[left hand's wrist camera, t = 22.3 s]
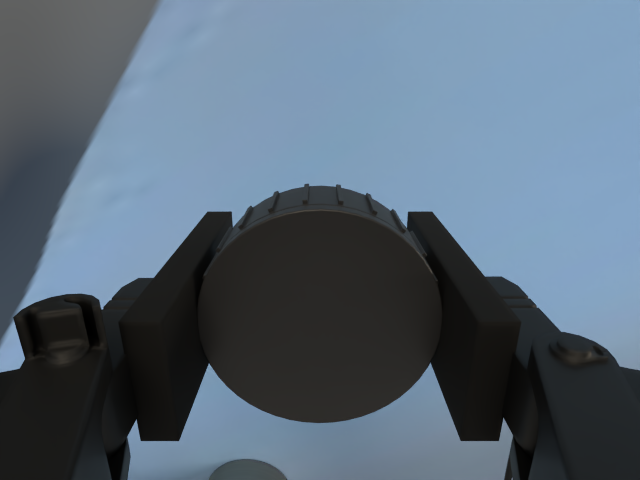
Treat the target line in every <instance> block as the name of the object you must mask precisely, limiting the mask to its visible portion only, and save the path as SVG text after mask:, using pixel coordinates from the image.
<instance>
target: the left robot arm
mask: <svg viewBox="0 0 640 480" xmlns="http://www.w3.org/2000/svg"><path fill="white" fill-rule="evenodd" d="M230 226H231V227H232V228H233V225H232V212H207V213H206V214H205V216H204V217H203V218H202V219H201V220H200V222H199V223H198V224H197V225H196V227H195V228H194V229H193V230H192V232H191V233H190V234H189V235H188V237H187V238H186V239H185V240H184V241H183V243H182V244H181V245H180V246H179V248H178V249H177V250H176V251H175V253H174V254H173V255H172V256H171V257H170V259H169V260H168V261H167V262H166V264H165V265H164V266H163V267H162V269H161V270H160V271H159V272H158V273H157V275H156V276H155V277H154V278H138V279H136V280H134V281H132V282H131V283H129V284H127V285H125V286H123V287H122V288H121V289H120V290H119V291H118V292H117V293H116V294H115V295H114V296H113V298H112V300H110V301H109V302H108V303H107V304H106V305H105V306H104V309H103V310H101V307H100V302H99V300H98V299H97V298H95V297H94V296H92V295H86V294H66V295H60V296H55V297H50V298H47V299H44V300H42V301H39V302H36V303H34V304H32V305H30V306H28V307H26V308H24V309H22V310H21V311H20V312H19V313H18V314H17V315H15V316H14V317H13V318H14V322H15V325H16V329H17V332H18V335H19V339H20V342H21V346H22V349H23V353H24V356H25V360H24V362H23V364H22V366H21V367H20V369H16V370H12V371H6V372H1V373H0V480H127V478H128V471H129V464H130V449H129V444H128V439H127V436H128V434H129V432H130V430H131V428H132V426H133V425H134V423H135V421H136V419H137V423H138V429H139V434H140V439H141V441H179V439H180V437H181V434H182V432H183V429H184V426H185V424H186V421H187V419H188V416H189V413H190V411H191V408H192V406H193V403H194V400H195V398H196V395H197V393H198V390H199V387H200V385H201V382H202V379H203V377H204V374H205V372H206V369H207V366H208V364H209V361H208V359H207V357H206V355H205V353H204V351H203V348H202V345H201V342H200V336H199V328H198V319H197V305H198V297H199V293H200V290H201V286H202V283H203V281H204V279H202V278H203V275H204V273H205V271H206V270H207V268H208V266H209V264H210V263H211V261H212V259H213V258H214V256H215V254H216V249H217V247H218V246H219V244H220V242H221V241H222V239H223V237H224V235H225V234H226V232H227V230H228V229H229V227H230ZM407 229H408V231H409V232H411V231H413V233H414V234H415V236H416V238H417V239H418V241H419V243H420V244H421V246H422V248H423V249H424V251H425V253H426V255H427V256H426V257H425V259H426V261H427V262H428V264H429V266H430V268H431V269H432V271H433V273H434V275H435V276H436V278H437V280H438V283H439V284H438V288H439V292H440V296H441V300H442V310H443V315H442V324H441V333H440V340H439V343H438V346H437V349H436V352H435V354H434V356H433V358H432V360H431V365H432V367H433V370H434V372H435V375H436V378H437V380H438V383H439V385H440V388H441V391H442V393H443V396H444V398H445V401H446V404H447V406H448V409H449V412H450V414H451V417H452V419H453V422H454V425H455V427H456V430H457V432H458V435H459V438H460V440H461V441H499V438H500V432H501V427H502V422H503V417H504V419H505V421H506V423H507V425H508V427H509V428H510V430H511V432H512V434H513V439H512V444H511V449H510V454H509V458H508V463H507V468H506V473H505V479H504V480H511V479H512V477H513V480H640V371H639V370H634V369H629V368H624V367H620V366H619V365H618V363H617V361H616V359H615V358H614V357H613V356H612V355H611V353H610V352H609V351H608V350H607V349H605V348H604V347H602V346H601V345H599V344H598V343H596V342H594V341H592V340H589V339H587V338H584V337H582V336H579V335H575V334H570V333H566V332H561V331H560V330H559V329H558V328H557V327H556V326H555V325H554V324H553V323H552V322H551V321H550V320H549V318H548V317H547V316H546V315H545V314H544V313H543V312H542V311H541V310H540V309H539V308H537V307H536V305H535V303H534V302H533V301H532V300H531V299H528V296H527V295H526V294H525V293H524V292H523V291H522V290H521V288H520V287H519V286H517V285H516V284H514V283H512V282H510V281H508V280H507V279H505V278H503V277H485V276H484V275H483V274H482V273H481V271H480V270H479V269H478V268H477V266H476V265H475V264H474V263H473V262H472V260H471V259H470V258H469V257H468V255H467V254H466V253H465V252H464V250H463V249H462V248H461V247H460V245H459V244H458V243H457V242H456V241H455V239H454V238H453V237H452V236H451V234H450V233H449V232H448V231H447V229H446V228H445V227H444V226H443V225H442V223H441V222H440V221H439V220H438V218H437V217H436V216H435V215H434V213H433V212H408V221H407Z"/></svg>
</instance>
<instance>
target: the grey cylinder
mask: <svg viewBox="0 0 640 480" xmlns="http://www.w3.org/2000/svg"><path fill="white" fill-rule="evenodd" d="M209 480H287V479H286V477H285V476H284V475H283V474H282V473H281V472H280V471H279V470H278V469H276V468H275V467H273V466H271V465H269V464H267V463H264V462H261V461H256V460H236V461H232V462H229V463H226V464H224V465H222V466H220V467H219V468H218V469H216V470H215V471H214V472H213V473H212V475H211V476H210V478H209Z"/></svg>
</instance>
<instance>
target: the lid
mask: <svg viewBox="0 0 640 480" xmlns="http://www.w3.org/2000/svg"><path fill="white" fill-rule="evenodd" d="M426 256H427V255H426V253H425V251H424V249H423V248H422V246H421V244H420V243H419V241H418V239H417V238H416V236H415V234H414V233H413V231H411V232H409V231H408V229H407V228H406V227H405V226H404V224H403V223H402V222H401V220H400V219H399V217H398V215H397V213H396V211H395V210H393V209H392V210H391V211H390V210H389V209H388V208H386V207H385V206H383V205H382V204H380V203H379V202H377V201H376V200H374V199H372V197H371V195H370V194H368V193H366V195H363V194H361V193H358V192H355V191H352V190H348V189H344V188H341V185H336V187H331V186H309V184H305V185H304V187H301V188H296V189H291V190H288V191H285V192H282V193H279V192H278V191H276V192H274V194H273V196H272V197H270V198H268V199H266V200H264V201H262V202H261V203H259V204H258V205H256V206H255V207H252V206H250V207H249V208H248V209H247V211H246V213H245V215H244V216H243V217H242V218H241V219H240V220H239V221H238V222H237V224H236V225H235V226H234V227H233V228H232V227H231V226H230V227H229V229H228V230H227V232H226V234H225V235H224V237H223V239H222V241H221V242H220V244H219V246H218V247H217V249H216V254H215V256H214V258H213V259H212V261H211V263H210V264H209V266H208V268H207V270H206V271H205V273H204V275H203V278H202V279H204V281H203V283H202V286H201V290H200V293H199V297H198V305H197V319H198V328H199V336H200V342H201V345H202V348H203V351H204V353H205V355H206V357H207V359H208V361H209V363H210V365H211V367H212V368H213V370H214V371H215V372H216V374H217V375H218V377H219V378H220V379H221V380H222V381H223V382H224V383H225V385H226V386H227V387H228V388H229V389H231V390H232V391H233V392H234V393H235V394H236V395H237V396H239V397H240V398H242V399H243V400H245V401H246V402H248V403H249V404H251V405H253V406H255V407H256V408H258V409H260V410H262V411H265V412H267V413H270V414H272V415H275V416H278V417H282V418H285V419H289V420H295V421H301V422H312V423H328V422H338V421H345V420H350V419H354V418H358V417H362V416H364V415H367V414H370V413H372V412H375V411H377V410H379V409H381V408H383V407H385V406H387V405H389V404H390V403H392V402H393V401H395V400H396V399H398V398H399V397H401V396H402V395H403V394H404V393H405V392H407V391H408V390H409V389H410V388H411V387H412V386H413V385H414V384H415V383H416V382H417V381H418V380H419V378H420V377H421V376H422V374H423V373H424V372H425V370H426V369H427V367H428V366H429V364H430V362H431V360H432V358H433V356H434V354H435V352H436V349H437V346H438V343H439V340H440V333H441V324H442V315H443V310H442V300H441V296H440V292H439V288H438V284H439V283H438V280H437V278H436V276H435V275H434V273H433V271H432V269H431V268H430V266H429V264H428V262H427V261H426V259H425V257H426Z"/></svg>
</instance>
